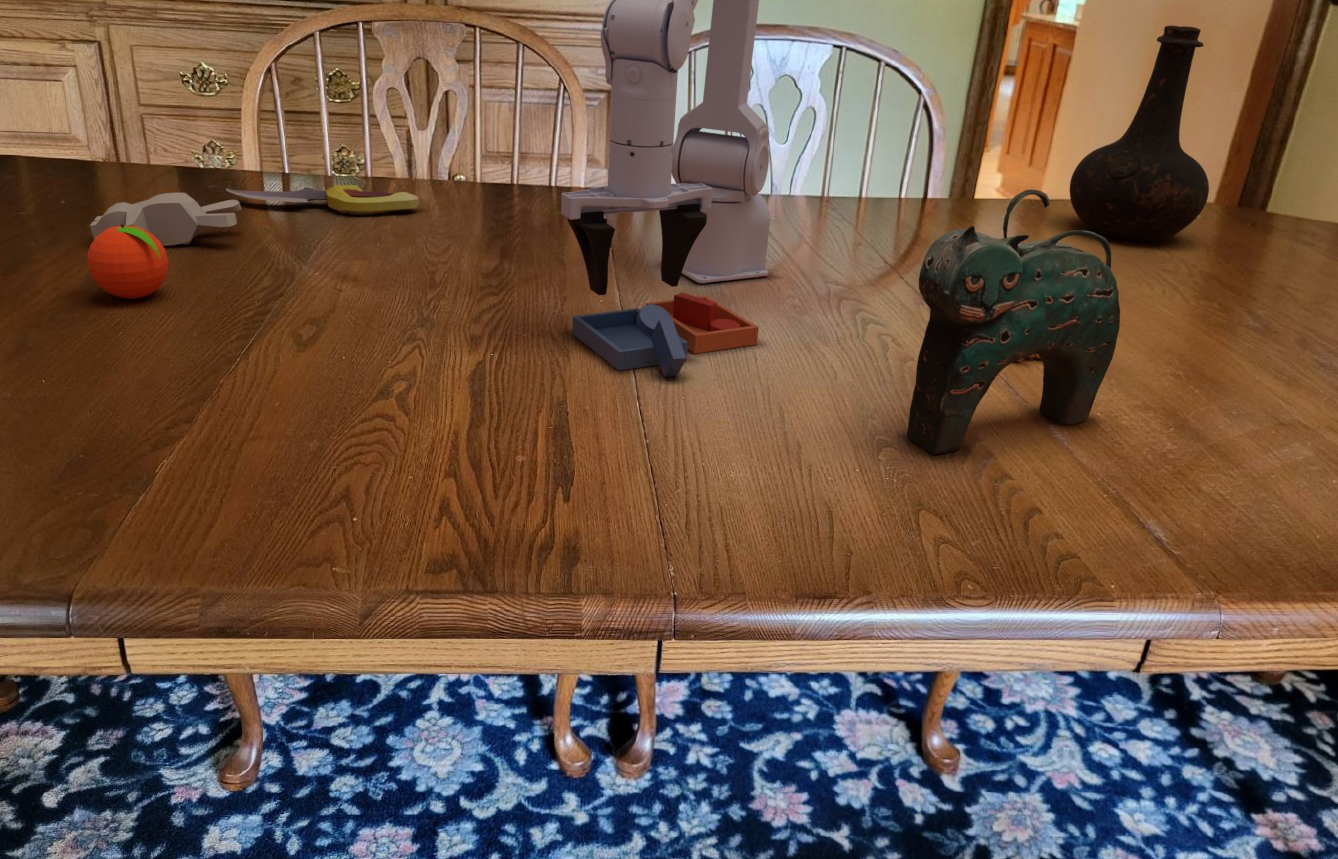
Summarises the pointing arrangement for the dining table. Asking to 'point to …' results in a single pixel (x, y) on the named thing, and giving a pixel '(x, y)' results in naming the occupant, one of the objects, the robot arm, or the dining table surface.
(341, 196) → the knife
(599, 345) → the blue tray
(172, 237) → the bunny figurine
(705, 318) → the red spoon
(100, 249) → the clementine
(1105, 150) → the glass bottle
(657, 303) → the red tray
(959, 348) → the ceramic cat
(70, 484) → the dining table surface
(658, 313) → the blue stepped block
